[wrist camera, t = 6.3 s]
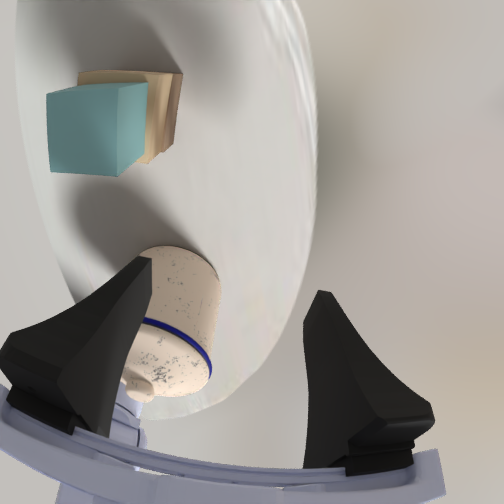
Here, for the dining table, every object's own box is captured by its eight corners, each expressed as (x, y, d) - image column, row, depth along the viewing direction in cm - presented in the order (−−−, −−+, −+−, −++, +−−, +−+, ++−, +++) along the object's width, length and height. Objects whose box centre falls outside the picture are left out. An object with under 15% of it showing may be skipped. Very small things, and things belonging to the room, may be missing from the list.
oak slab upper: (161, 151, 17) (147, 163, 15) (93, 142, 17) (74, 154, 15) (173, 73, 15) (159, 75, 12) (99, 70, 14) (78, 72, 12)
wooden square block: (174, 142, 19) (163, 152, 17) (111, 135, 19) (95, 144, 17) (184, 73, 17) (173, 74, 15) (117, 70, 16) (99, 72, 14)
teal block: (144, 153, 15) (117, 176, 12) (84, 150, 15) (50, 172, 12) (148, 82, 13) (118, 88, 10) (84, 84, 12) (46, 93, 10)
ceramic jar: (121, 236, 24) (55, 342, 14) (226, 246, 24) (202, 373, 14) (141, 329, 31) (109, 422, 21) (222, 340, 31) (209, 442, 21)
